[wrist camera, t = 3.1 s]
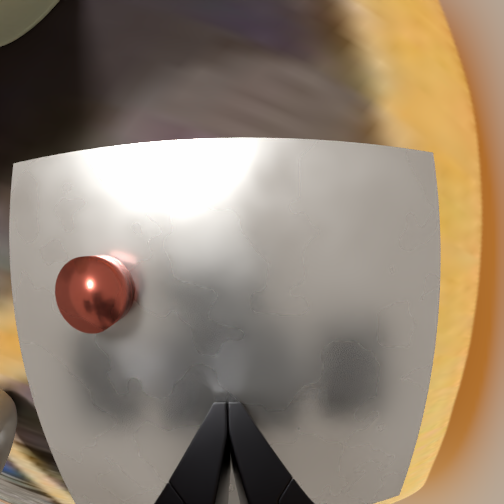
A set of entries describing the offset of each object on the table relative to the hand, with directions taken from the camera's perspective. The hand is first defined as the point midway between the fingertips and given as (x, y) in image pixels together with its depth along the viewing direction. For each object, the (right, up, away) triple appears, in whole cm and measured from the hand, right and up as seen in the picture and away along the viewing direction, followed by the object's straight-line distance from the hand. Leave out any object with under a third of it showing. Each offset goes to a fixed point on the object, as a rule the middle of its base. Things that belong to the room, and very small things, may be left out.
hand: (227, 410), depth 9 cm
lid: (0, -1, +1) cm, 1 cm away
